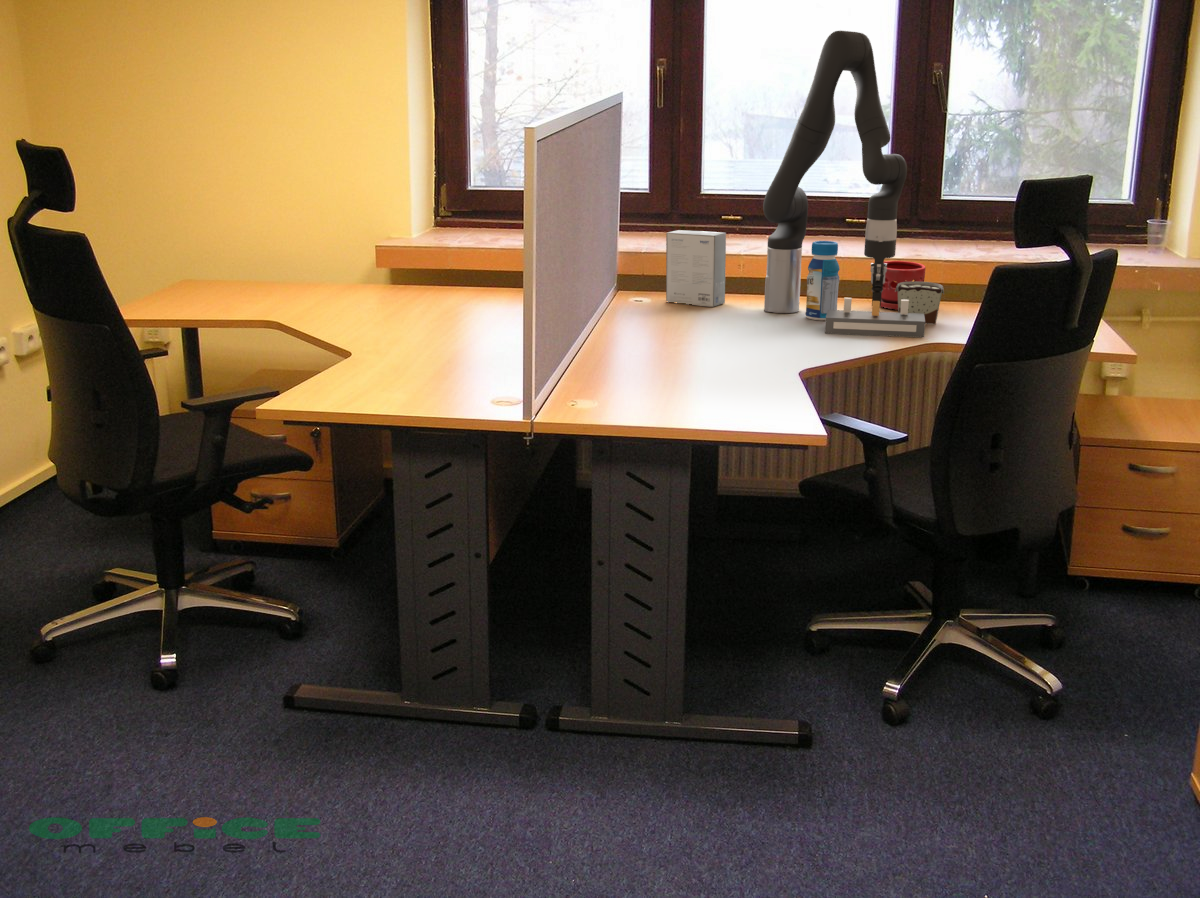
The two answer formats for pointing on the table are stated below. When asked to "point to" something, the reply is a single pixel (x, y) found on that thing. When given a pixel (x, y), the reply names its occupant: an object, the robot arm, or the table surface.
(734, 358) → the table surface
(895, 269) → the plant pot
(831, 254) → the beverage bottle
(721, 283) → the hard drive box
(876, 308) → the switch mid
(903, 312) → the switch right
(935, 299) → the food container
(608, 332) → the table surface
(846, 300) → the switch left
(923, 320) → the breaker block
